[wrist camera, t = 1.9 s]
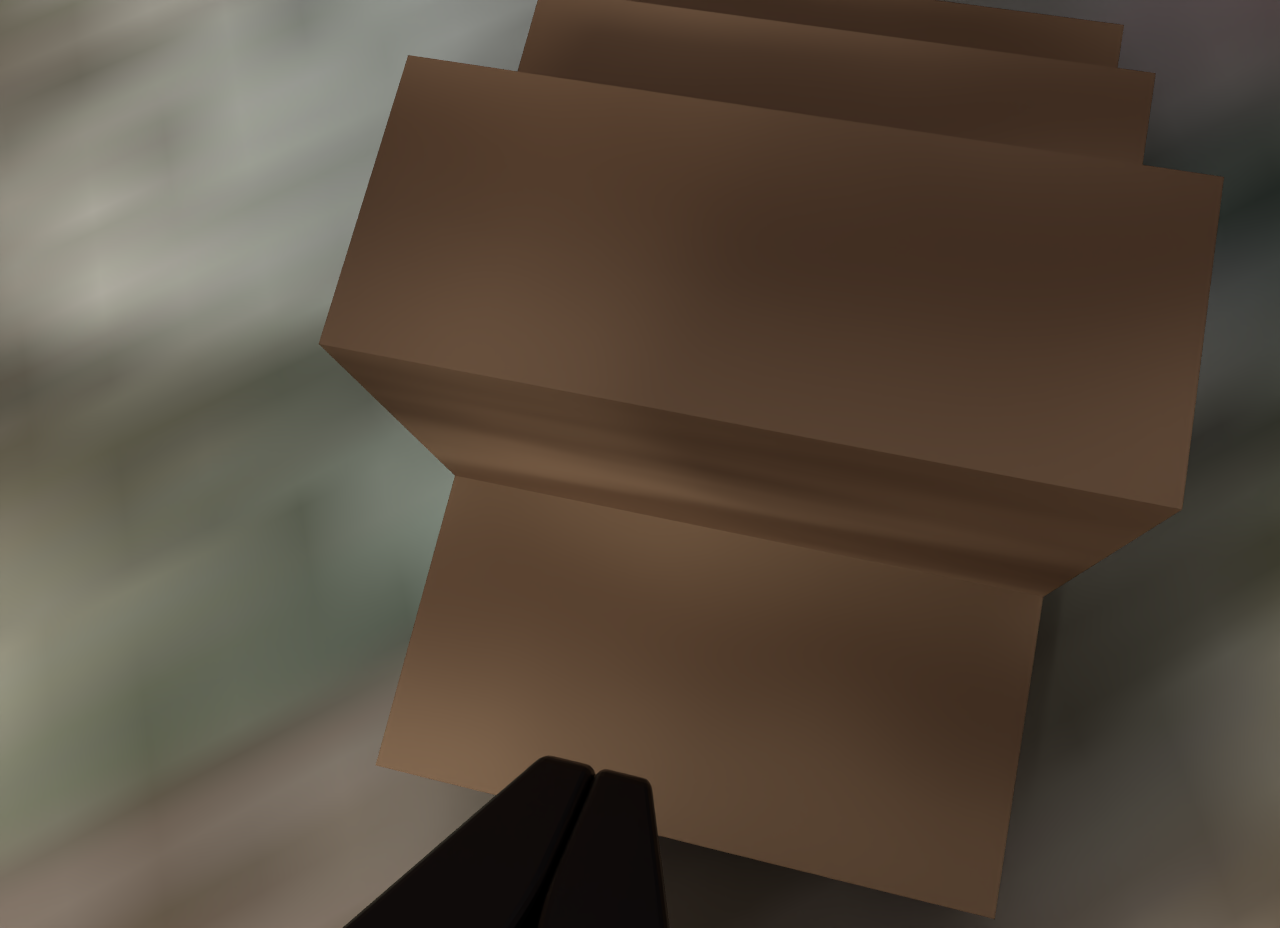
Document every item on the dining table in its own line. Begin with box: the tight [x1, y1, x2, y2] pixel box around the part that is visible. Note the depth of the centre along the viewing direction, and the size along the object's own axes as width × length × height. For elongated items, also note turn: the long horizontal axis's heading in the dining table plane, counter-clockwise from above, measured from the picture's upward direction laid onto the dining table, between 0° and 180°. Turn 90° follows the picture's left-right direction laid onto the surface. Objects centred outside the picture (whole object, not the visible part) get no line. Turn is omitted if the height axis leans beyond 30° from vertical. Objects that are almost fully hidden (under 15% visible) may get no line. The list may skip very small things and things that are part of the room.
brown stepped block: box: [319, 0, 1224, 919], centre depth 18 cm, size 16×10×9 cm, turn 167°
